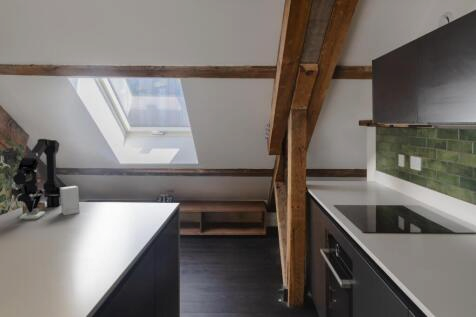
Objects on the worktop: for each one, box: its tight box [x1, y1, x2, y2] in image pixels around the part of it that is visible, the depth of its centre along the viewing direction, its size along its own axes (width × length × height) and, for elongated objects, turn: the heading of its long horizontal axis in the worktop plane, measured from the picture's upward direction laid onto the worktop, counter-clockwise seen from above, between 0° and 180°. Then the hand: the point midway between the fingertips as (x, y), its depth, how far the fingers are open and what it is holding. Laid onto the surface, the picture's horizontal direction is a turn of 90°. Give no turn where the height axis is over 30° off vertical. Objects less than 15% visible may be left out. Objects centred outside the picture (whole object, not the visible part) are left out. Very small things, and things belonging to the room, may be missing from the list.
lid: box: [19, 208, 46, 219], centre depth 167 cm, size 9×9×4 cm
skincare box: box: [60, 185, 81, 216], centre depth 176 cm, size 8×6×15 cm
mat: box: [18, 210, 54, 221], centre depth 171 cm, size 11×16×1 cm
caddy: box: [22, 201, 46, 215], centre depth 175 cm, size 8×8×5 cm
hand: (32, 210), depth 167 cm, fingers open, 5 cm apart
